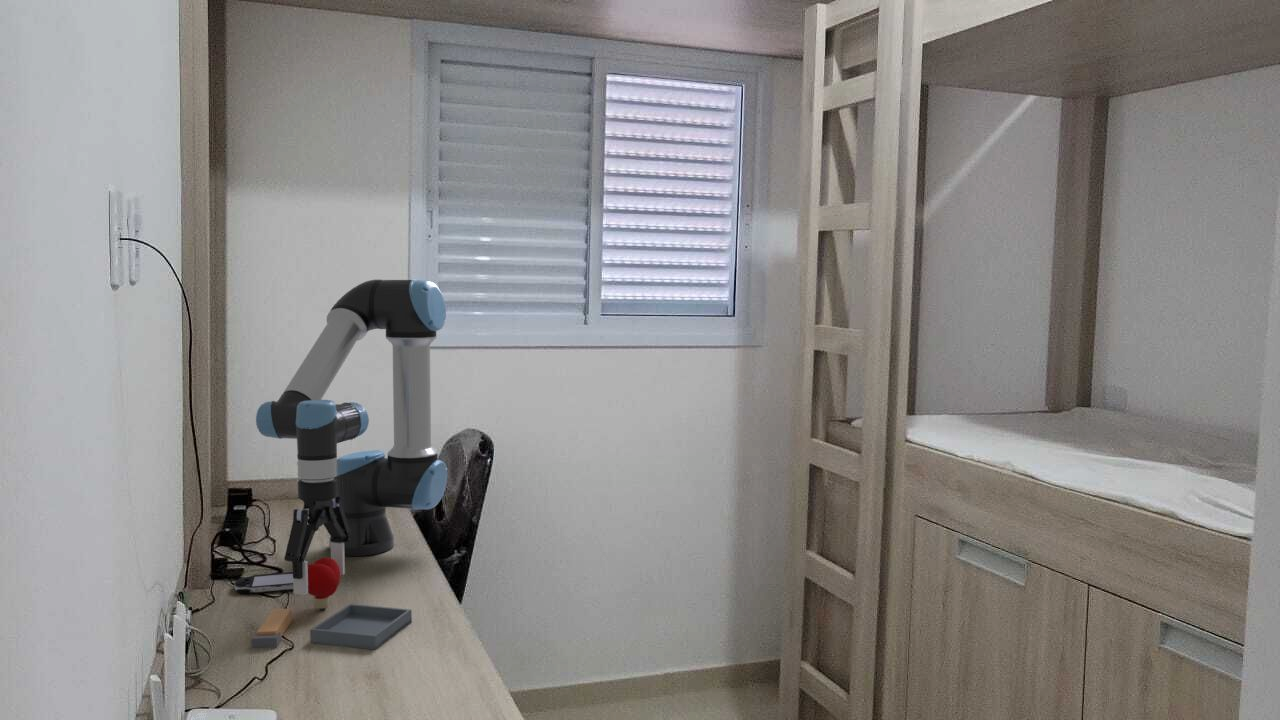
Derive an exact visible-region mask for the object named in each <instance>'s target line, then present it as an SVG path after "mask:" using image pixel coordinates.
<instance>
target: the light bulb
mask: <svg viewBox="0 0 1280 720" xmlns="http://www.w3.org/2000/svg"><path fill="white" fill-rule="evenodd" d="M340 582H341V575H340V569H339V566H338V564H337V563H336V562H335V561H334V560H333V559H331V557H321V558H320V557H319V558H318V559H317V560H315V561H314V562H313V563H309V564H308V594H309V595H310V596H312V597H314V607H315V608H317V609H318V610H319V611H324V610H325V609H326V608H327V607H328V606H330V603H329V601H330V599H329V597H331V596H332V595H334V594H335V593H336V591H337V590H338V587H339V584H340Z"/></svg>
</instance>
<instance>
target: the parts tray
mask: <svg viewBox="0 0 1280 720" xmlns="http://www.w3.org/2000/svg"><path fill="white" fill-rule="evenodd" d="M412 614H413V613H412V609H408V608H399V607H398V608H397V607H386V606H375V605H367V604H354V603H349V604H347V605H346V606H344V607H343V608H341V609H340V610H338V611H336V612H335V613H333V614H331V616H329V617H327V618H326V619H324V620H323V621H321V622H319V623H318V624H316V625H315V626H313V627H312V628H310V629H309V635H310V636H309V638H310V643H311V644H321V645H328V646H329V645H330V646H331V645H332V646H340V647H347V648H348V647H349V648H359V649H367V650H368V649H369V650H377V649H379V647H381V646H383V645H384V644H385V643H386V642H387V641H389V640H390V639H391V638H393V637H394V636H396V635H397V634H398V633H399V632H401V631H402V630H404V629H405V628H406V627H407V626H408V625H410V624H411V623H413V622H412Z"/></svg>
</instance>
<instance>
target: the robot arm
mask: <svg viewBox="0 0 1280 720" xmlns="http://www.w3.org/2000/svg"><path fill="white" fill-rule="evenodd" d="M446 317H447V310H446V302H445V298H444V295H443V293H442V292H441V290H440V288H439V286H438V285H437V284H435V282H432V281H430V280H420V279H416V278H414V279H372V280H371V279H370V280H367V281H364V282H362V283H359V284H357V285H356V286H354V287H353V288H351V289H350V290H348V291H347V292H346V293H345V294H343V296H341V297H340V298H339V299H338V300H337V301H336V303H335V304H333V306H332V308H331V309H330V310H329V312H328V314H327V315H326V325H325V327H324V328H323V329H322V331H321V333H320V334H319V335H318V336H319V337H318V338H317V339H316V341H315V342H314V343H313V346H312V347H311V349H310V350H309V351H308V353H307V355H306V356H305V358H304V359H303V361H302V363H301V365H300V366H299V367H298V369H297V371H296V372H295V374H294V375H293V376H292V378H291V380H290V381H289V383H288V385H287V386H286V388H285V389H284V391H283V392H282V394H281V395H280V397H279V399H278V400H277V401H276V400H275V401H274V400H272V401H265V402H264V403H262V404H260V406H259V407H258V409H257V411H256V416H255V424H256V428H257V429H258V432H259V433H260V434H261V435H262V436H264V437H267V438H273V439H279V440H281V439H282V440H283V439H294V440H296V449H297V450H296V451H297V462H296V464H297V477H298V479H299V480H298V481H297V498H298V499H299V500H300V501H302V502H303V508H302V509H298V508H295V509H294V510H293V514H292V515H293V516H292V517H293V519H292V524H291V529H290V533H289V538H288V541H287V547H286V550H285V553H284V561H287V562H291V564H292V572H293V589H294V591H293V595H302V596H306V595H308V594H309V593H308V565H309V564H308V563H309V562H308V560H306V557H307V554H308V551H309V548H310V546H311V544H312V541H313V539H314V535H315V533H316V532H317V531H318V530H319V529H320V527H322V526H324V527H325V530H326V531H327V533H328V534H329V536H330V537H329V542H328V545H329V552H330V558H331V559H333V560H334V561H335V562H336V563H337V564H338V566H339V569H340V576H341V575H345V574H346V564H345V561H346V560H345V557H346V556H347V557H363V556H373V555H377V554H381V553H384V552H387V551H390V550H391V549H393V547H394V546H395V537H394V533H393V530H392V527H391V525H390V522H389V520H388V517H387V513H386V512H387V511H386V510H387V509H386V508H393V509H411V510H414V511H418V510H431V509H433V508H435V507H436V506H437V505H438V504H439V503H440V502H441V500H442V498H443V496H444V493H445V491H446V487H447V482H448V468H447V465H446V463H445V462H444V461H442V460H441V459H439V457H438V450H437V449H436V448H434V446H433V445H432V429H431V427H432V423H431V419H432V418H431V414H432V413H431V411H432V409H431V404H432V402H431V344H432V343H433V342H434V340H436V339H437V332H438V331H440V330H441V329H443V327H444V326H445V320H446ZM376 329H377V330H378V329H379V330H385V339H386V340H388V342H389V343H390V344H391V345H392V390H393V391H392V393H393V395H392V396H393V399H392V400H393V402H392V403H393V407H392V408H393V409H392V410H393V446H392V448H391V449H390V450H389V451H388V452H387V458H386V454H385V451H384V450H381V449H380V450H378V449H377V450H375V449H374V450H366V451H359V452H358V451H357V452H354V453H353V452H352V453H349V454H346V455H343V456H339V457H338V451H337V450H338V449H337V448H338V446H337V445H338V444H339V443H342V442H346V441H349V440H350V441H352V440H354V439H357V438H358V437H360V436H361V435H363V434H364V433H365V432H366V431H367V429H368V427H369V422H370V419H369V414H368V412H367V409H365V407H364V406H363V405H362V404H360V403H358V402H352V401H350V402H342V403H340V404H338V403H335V402H334V400H329V399H323V397H324V395H325V394H326V392H327V391H328V389H329V387H330V386H331V384H332V383H333V381H334V380H335V377H336V376H337V374H338V372H339V371H340V369H341V368H342V366H343V364H344V363H345V360H346V359H347V358H348V356H349V355H350V353H351V351H352V349H353V348H354V346H355V344H356V343H357V342H359V341H361V340H363V339H364V338H365V336H366V335H367V334H368V332H369V331H372V330H376Z"/></svg>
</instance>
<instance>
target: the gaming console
mask: <svg viewBox="0 0 1280 720" xmlns="http://www.w3.org/2000/svg"><path fill="white" fill-rule="evenodd" d="M234 590H235V591H236V592H237V593H239V594H242V595H259V594H271V593H285V592H294V589H293V571H287V572H285V571H284V572H275V573H263V574H260V573H259V574H254V575H247V576H243V577H240V578H238V579H236V580H235V581H234Z"/></svg>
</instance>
